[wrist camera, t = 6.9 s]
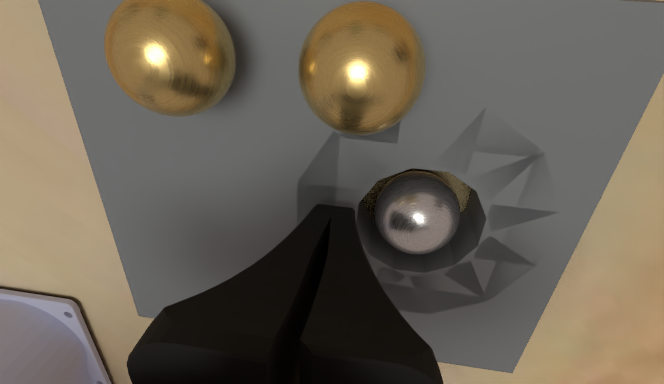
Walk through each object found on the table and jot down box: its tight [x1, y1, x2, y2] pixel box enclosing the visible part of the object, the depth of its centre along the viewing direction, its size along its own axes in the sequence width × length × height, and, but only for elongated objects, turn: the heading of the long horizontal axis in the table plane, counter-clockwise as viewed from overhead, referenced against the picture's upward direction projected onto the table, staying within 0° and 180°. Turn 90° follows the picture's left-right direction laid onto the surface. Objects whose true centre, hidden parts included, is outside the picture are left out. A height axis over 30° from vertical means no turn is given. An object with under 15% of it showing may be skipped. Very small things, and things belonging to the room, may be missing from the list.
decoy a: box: [104, 0, 236, 117], centre depth 10 cm, size 3×3×3 cm
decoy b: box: [298, 1, 426, 135], centre depth 9 cm, size 3×3×3 cm
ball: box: [374, 171, 460, 255], centre depth 14 cm, size 3×3×3 cm
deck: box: [38, 0, 664, 373], centre depth 15 cm, size 18×15×2 cm
